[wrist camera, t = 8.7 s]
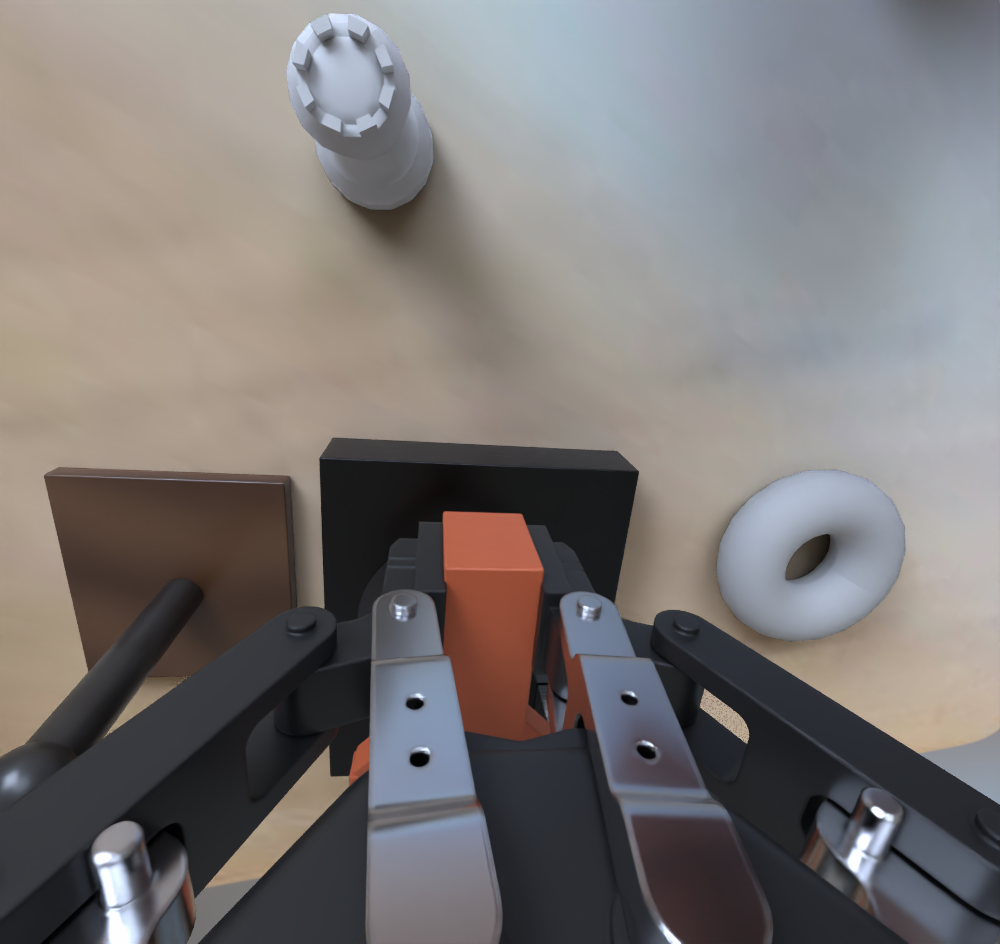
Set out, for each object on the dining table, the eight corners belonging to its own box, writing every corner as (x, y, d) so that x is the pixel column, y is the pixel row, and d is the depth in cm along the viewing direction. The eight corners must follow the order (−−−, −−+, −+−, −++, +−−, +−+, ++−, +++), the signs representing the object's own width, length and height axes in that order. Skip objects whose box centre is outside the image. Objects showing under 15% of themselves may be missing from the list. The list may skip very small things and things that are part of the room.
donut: (734, 449, 27) (684, 612, 30) (774, 471, 24) (713, 651, 27) (897, 470, 29) (833, 623, 32) (955, 493, 26) (878, 660, 29)
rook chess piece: (352, 53, 19) (300, -89, 12) (454, 132, 21) (465, 49, 13) (298, 166, 20) (220, 101, 13) (399, 235, 22) (380, 211, 14)
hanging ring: (553, 848, 19) (575, 954, 16) (355, 860, 18) (338, 975, 15) (605, 515, 15) (649, 571, 12) (352, 507, 14) (328, 565, 11)
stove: (332, 437, 24) (318, 459, 21) (657, 452, 27) (684, 474, 24) (340, 745, 31) (330, 794, 28) (600, 737, 33) (617, 782, 30)
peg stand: (58, 466, 23) (-312, 650, 12) (290, 475, 25) (162, 647, 13) (100, 664, 27) (-149, 951, 15) (300, 662, 28) (208, 924, 17)
